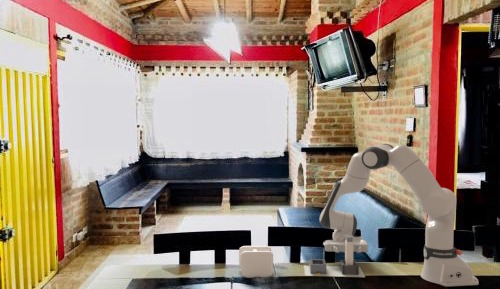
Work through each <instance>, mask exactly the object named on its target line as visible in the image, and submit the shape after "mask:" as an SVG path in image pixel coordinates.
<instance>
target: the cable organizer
mask: <svg viewBox="0 0 500 289" xmlns="http://www.w3.org/2000/svg"><path fill="white" fill-rule="evenodd" d="M238 267H239V268H238V269H240V274H241V276H243V277H244V278H248V279H250V278H251V279H252V278H255V277H261V278H269V277H271V276H273V275H274V254H273V252H272V248H271V246H268V245H243V246H241V247H239V249H238Z"/></svg>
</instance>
